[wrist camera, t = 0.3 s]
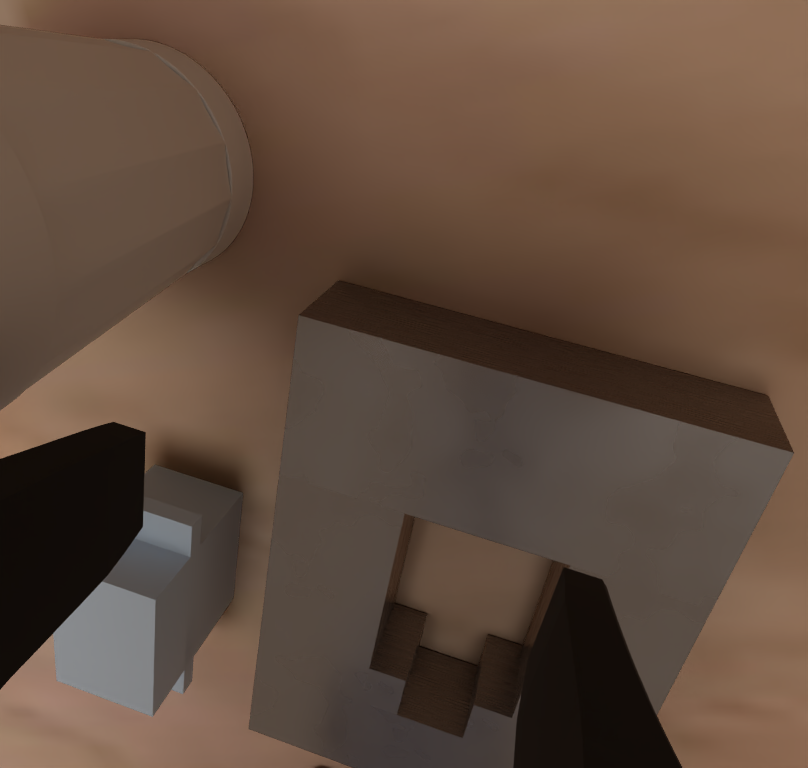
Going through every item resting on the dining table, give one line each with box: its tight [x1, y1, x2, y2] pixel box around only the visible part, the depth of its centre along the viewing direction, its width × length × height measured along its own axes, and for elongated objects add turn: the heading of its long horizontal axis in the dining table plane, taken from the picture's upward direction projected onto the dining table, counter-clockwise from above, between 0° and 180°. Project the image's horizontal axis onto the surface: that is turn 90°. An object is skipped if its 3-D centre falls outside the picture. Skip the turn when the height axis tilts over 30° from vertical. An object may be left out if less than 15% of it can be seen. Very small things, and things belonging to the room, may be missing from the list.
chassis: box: [249, 281, 794, 768], centre depth 22 cm, size 16×12×3 cm
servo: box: [53, 465, 243, 717], centre depth 24 cm, size 8×3×6 cm, turn 169°
